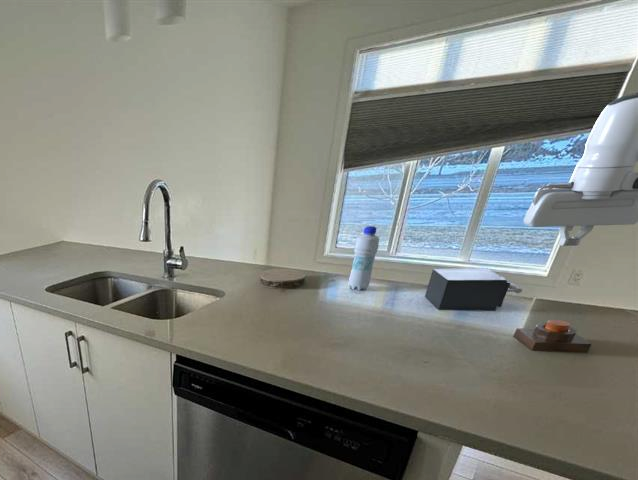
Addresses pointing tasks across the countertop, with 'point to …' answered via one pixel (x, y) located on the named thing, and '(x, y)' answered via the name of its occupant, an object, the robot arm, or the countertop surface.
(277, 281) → the round wood slice
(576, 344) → the control pad
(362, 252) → the bottle
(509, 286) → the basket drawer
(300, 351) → the countertop surface
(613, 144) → the robot arm
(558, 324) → the button
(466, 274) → the dark navy box
